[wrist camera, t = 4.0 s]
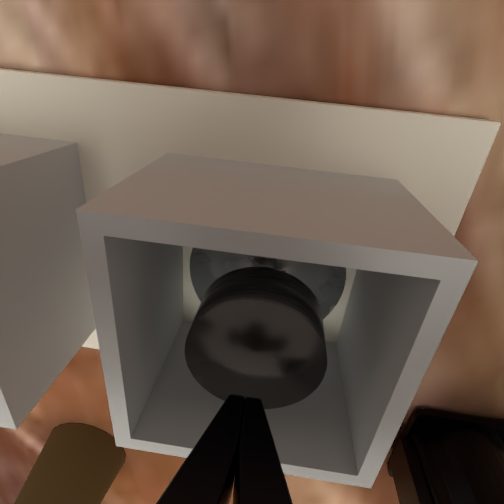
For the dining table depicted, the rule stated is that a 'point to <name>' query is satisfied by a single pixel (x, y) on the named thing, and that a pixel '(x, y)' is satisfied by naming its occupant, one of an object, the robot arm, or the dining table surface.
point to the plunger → (260, 325)
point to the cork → (73, 467)
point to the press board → (226, 249)
